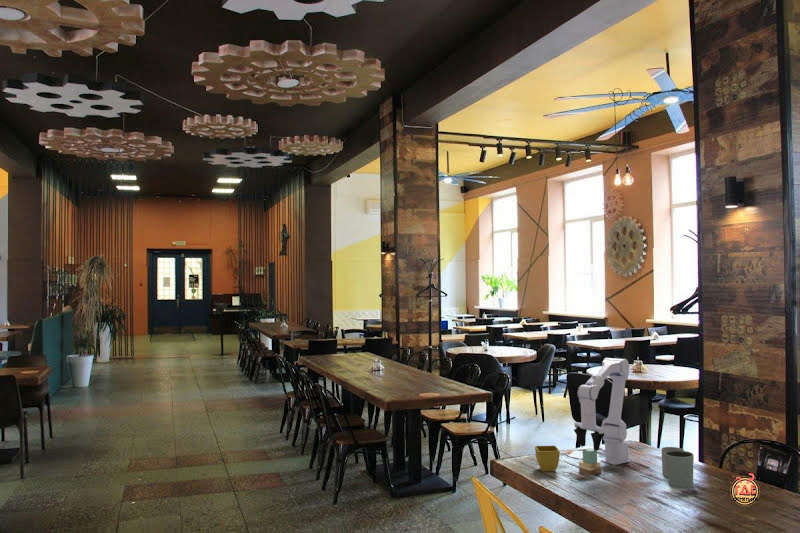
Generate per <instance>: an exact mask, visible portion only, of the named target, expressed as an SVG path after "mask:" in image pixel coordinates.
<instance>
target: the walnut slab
mask: <svg viewBox="0 0 800 533" xmlns="http://www.w3.org/2000/svg"><path fill="white" fill-rule="evenodd" d="M601 468H602V467H601ZM601 468H599V469H595V470H591V471H590V470H586V469H583V468H580V467H579V466H578V472H579V473H582V474H585V475H588V476H593V475H598V474H602V473H601V472H602V471H601V470H602V469H601Z"/></svg>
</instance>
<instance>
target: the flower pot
mask: <svg viewBox="0 0 800 533" xmlns="http://www.w3.org/2000/svg"><path fill="white" fill-rule="evenodd" d="M534 449H535V458H536V463H537V464H538V466H539V468H540V470H541V471H542V472H556V470H557V469H558V465H559V462H560V453H561V452H560V449H559V448H558V447H557V446H556V445H535V446H534Z"/></svg>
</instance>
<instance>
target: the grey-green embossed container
mask: <svg viewBox="0 0 800 533" xmlns="http://www.w3.org/2000/svg"><path fill="white" fill-rule="evenodd" d="M694 455H695V454H694V453H693V452H690V451H687V450H684V451H681V450H671V451H666V452H665V460H666V467H667V474H668V477H667V482H668V485H669V486H670V487H671V488H675V489H679V490H687V489H692V488H694V461H695V460H694V459H695V456H694Z"/></svg>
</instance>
